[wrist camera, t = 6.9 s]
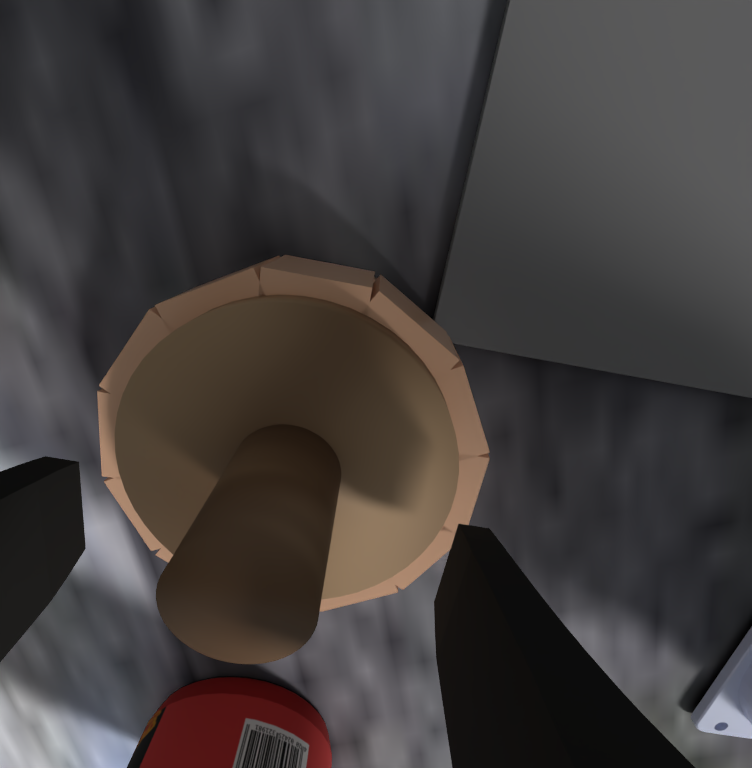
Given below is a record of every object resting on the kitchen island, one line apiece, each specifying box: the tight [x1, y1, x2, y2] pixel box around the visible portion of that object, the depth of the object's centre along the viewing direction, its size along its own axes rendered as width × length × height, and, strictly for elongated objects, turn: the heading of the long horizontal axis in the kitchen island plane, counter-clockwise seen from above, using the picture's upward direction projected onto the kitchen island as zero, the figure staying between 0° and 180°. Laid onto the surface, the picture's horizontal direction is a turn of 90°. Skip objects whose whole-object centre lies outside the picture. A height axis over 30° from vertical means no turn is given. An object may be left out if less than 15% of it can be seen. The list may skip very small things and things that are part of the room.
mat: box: [433, 0, 752, 398], centre depth 11 cm, size 12×12×1 cm
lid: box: [115, 295, 459, 664], centre depth 9 cm, size 8×8×4 cm
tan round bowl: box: [97, 255, 490, 612], centre depth 12 cm, size 9×9×3 cm
